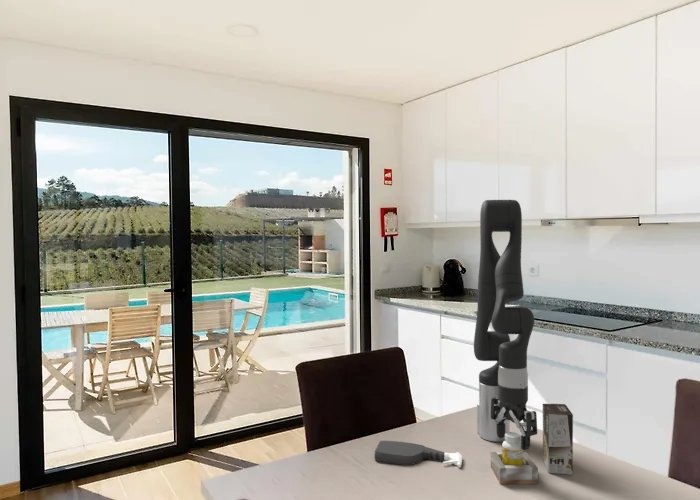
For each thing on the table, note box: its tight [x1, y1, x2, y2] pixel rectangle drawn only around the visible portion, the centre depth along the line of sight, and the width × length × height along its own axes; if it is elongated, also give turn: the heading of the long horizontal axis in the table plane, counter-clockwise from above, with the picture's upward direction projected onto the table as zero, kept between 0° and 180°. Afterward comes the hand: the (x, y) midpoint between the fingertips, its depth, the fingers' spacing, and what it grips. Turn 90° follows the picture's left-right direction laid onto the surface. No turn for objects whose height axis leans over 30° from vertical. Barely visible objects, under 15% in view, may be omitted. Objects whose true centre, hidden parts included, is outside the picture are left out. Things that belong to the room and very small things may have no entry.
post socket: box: [490, 451, 539, 485], centre depth 136 cm, size 10×10×4 cm
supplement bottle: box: [501, 431, 524, 465], centre depth 136 cm, size 5×5×10 cm
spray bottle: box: [374, 440, 463, 468], centre depth 147 cm, size 3×11×24 cm
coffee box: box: [542, 403, 574, 476], centre depth 140 cm, size 9×6×16 cm
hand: (513, 443), depth 136 cm, fingers open, 8 cm apart
